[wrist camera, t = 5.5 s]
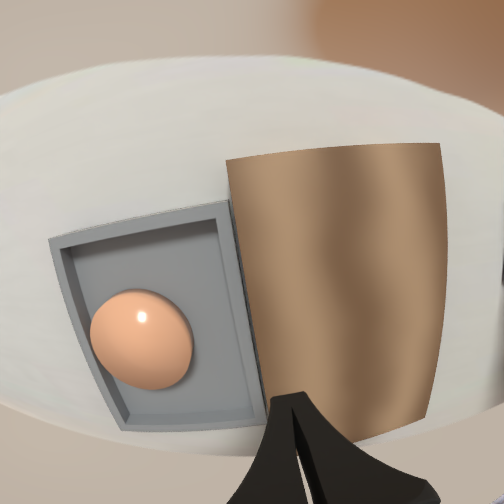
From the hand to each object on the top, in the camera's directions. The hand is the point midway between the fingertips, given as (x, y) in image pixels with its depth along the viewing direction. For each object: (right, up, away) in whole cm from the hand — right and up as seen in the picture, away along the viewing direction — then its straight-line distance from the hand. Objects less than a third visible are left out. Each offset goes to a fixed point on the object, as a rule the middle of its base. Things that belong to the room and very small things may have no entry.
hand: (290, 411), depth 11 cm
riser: (+5, +3, +9) cm, 10 cm away
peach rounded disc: (-9, 0, +7) cm, 11 cm away
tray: (-8, +1, +9) cm, 12 cm away
